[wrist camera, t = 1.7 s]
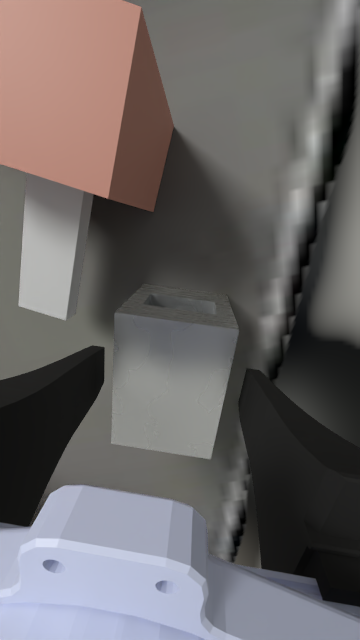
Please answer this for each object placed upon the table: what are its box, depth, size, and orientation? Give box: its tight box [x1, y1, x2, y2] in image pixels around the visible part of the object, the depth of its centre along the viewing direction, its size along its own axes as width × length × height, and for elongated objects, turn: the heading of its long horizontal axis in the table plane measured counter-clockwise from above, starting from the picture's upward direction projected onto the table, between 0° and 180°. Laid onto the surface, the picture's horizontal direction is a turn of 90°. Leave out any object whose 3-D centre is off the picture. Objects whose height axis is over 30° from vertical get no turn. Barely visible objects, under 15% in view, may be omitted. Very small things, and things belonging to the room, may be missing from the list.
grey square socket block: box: [111, 284, 239, 459], centre depth 14 cm, size 7×5×6 cm
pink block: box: [0, 0, 174, 320], centre depth 10 cm, size 10×7×7 cm
